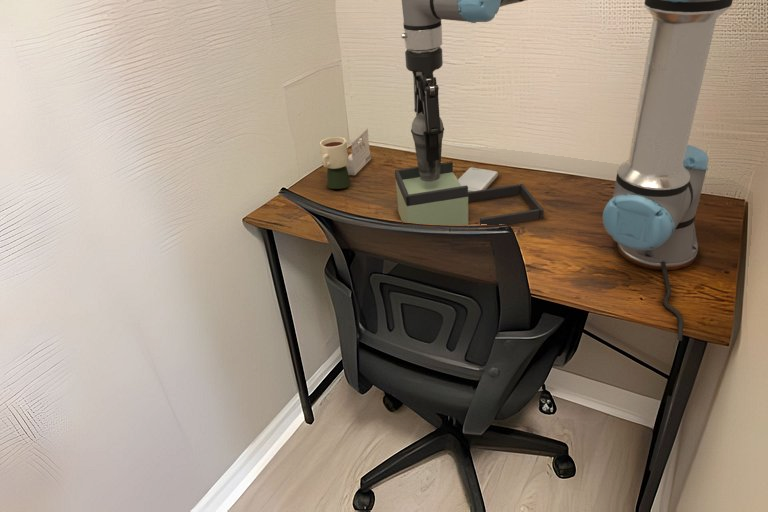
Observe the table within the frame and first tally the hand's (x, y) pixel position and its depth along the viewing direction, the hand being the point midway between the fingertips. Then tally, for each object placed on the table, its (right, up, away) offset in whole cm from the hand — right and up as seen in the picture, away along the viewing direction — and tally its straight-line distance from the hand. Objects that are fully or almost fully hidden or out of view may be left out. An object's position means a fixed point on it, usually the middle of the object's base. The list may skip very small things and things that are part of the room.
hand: (428, 152), depth 132 cm
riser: (+10, -13, +11) cm, 20 cm away
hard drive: (+14, -4, +24) cm, 28 cm away
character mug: (-22, -4, +30) cm, 37 cm away
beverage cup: (+1, -5, +3) cm, 6 cm away
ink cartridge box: (-17, +2, +39) cm, 42 cm away
